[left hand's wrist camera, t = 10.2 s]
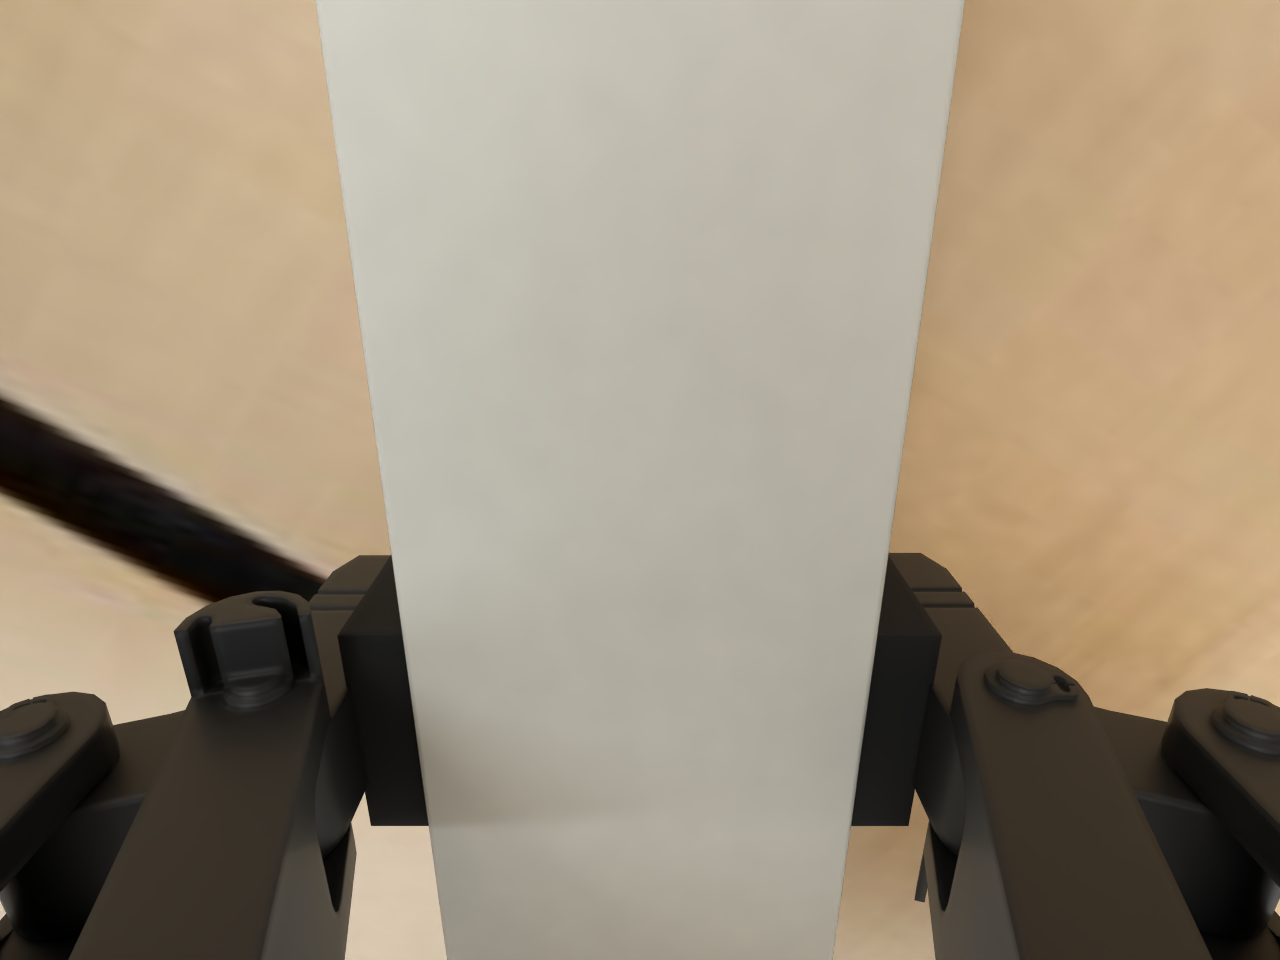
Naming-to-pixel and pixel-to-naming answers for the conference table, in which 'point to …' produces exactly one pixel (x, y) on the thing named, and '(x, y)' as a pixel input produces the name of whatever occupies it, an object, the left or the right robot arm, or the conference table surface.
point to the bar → (640, 439)
